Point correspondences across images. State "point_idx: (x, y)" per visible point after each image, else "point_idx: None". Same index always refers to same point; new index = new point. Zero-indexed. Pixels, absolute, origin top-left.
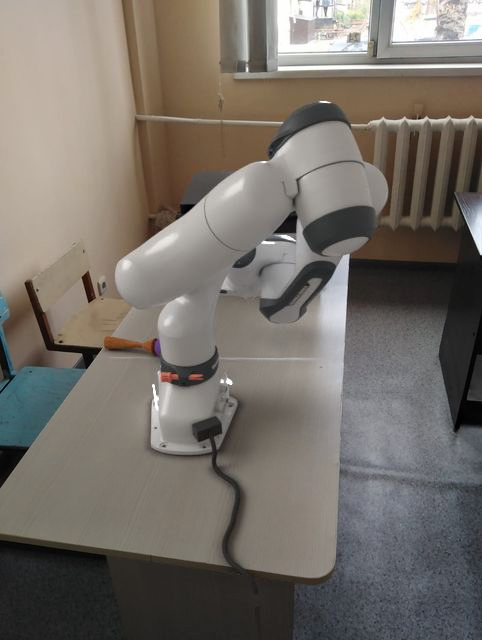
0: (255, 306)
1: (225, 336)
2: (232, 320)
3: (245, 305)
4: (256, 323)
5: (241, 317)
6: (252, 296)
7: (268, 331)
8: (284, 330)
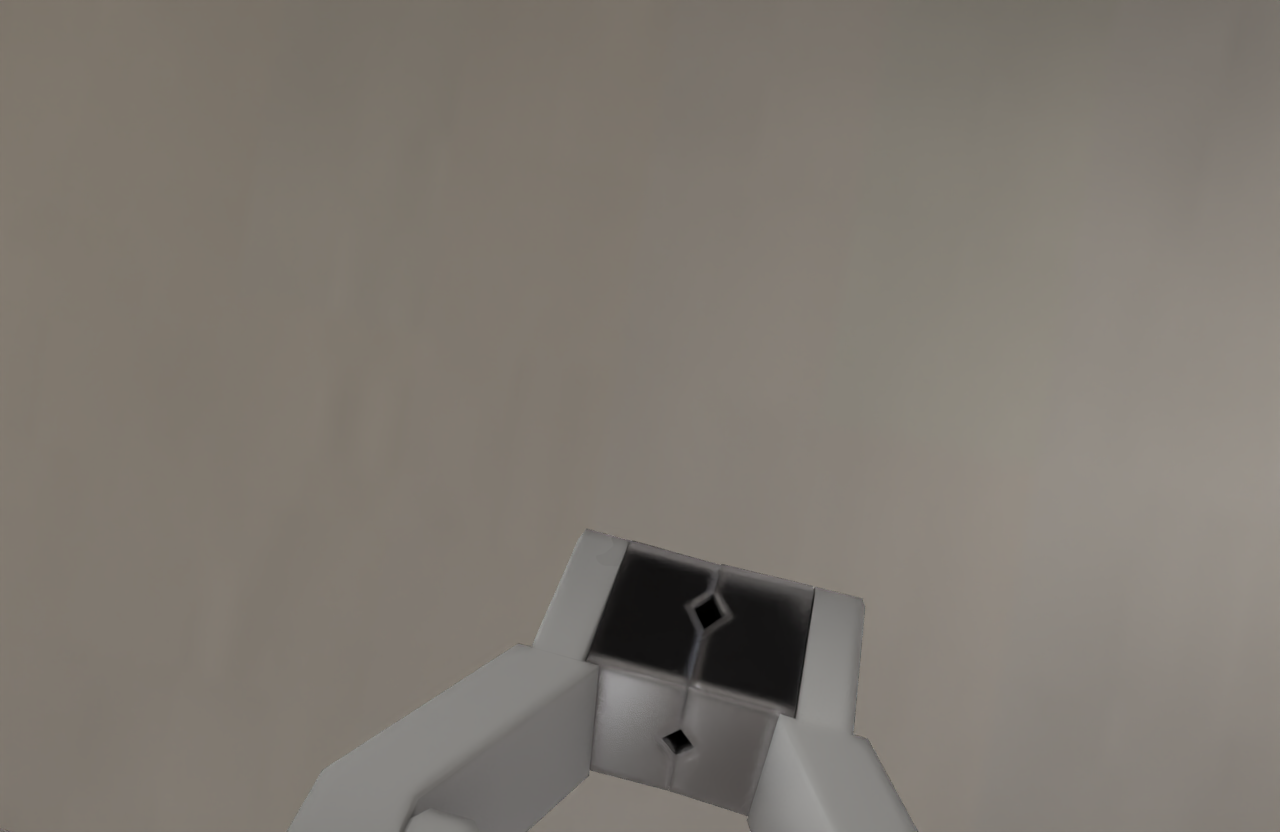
0: (873, 70)
1: (375, 734)
2: (521, 367)
3: (745, 22)
4: (812, 510)
5: (644, 316)
6: (745, 810)
7: (937, 753)
8: (1166, 784)
